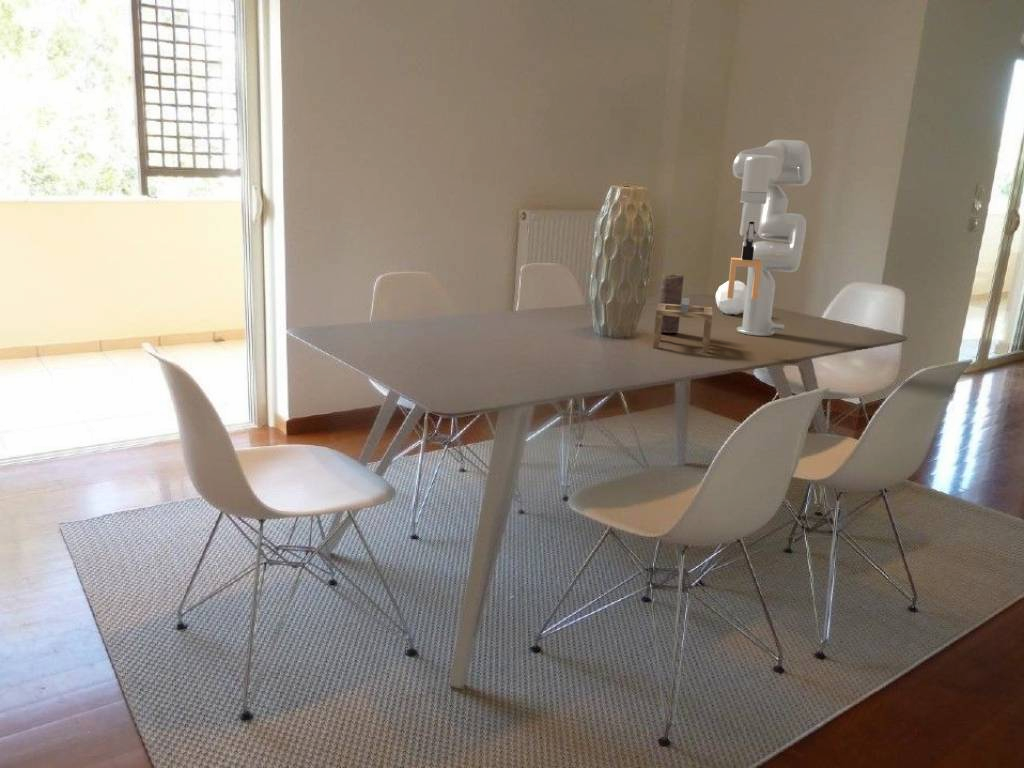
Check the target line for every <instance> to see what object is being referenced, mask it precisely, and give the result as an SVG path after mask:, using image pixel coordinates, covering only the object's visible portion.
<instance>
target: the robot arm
mask: <svg viewBox="0 0 1024 768" xmlns="http://www.w3.org/2000/svg"><path fill="white" fill-rule="evenodd" d="M732 173H733V176H734V177H735V178H736V179H739V180H742V183H741V195H740V201H739V202H740V203H742V204H743V205H742V213H741V219H740V226H739V227H740V228H739V235H740V236H741V237H743V242H745V243H744V246H743V242H742V245H741V248H742V247H743V252H742V251H741V253H740V257H741V256H742V259H743V260H753V259H759V260H762V267H761V275H760V284H759V292H758V300H752V298H751V297H752V289H753V280H754V272H755V267H747V279H746V280H747V282H746V286H747V287H746V296H745V304H744V311H743V312H742V313H743V315H742V323H741V326H738V327H736V331H737V332H738V333H741V334H744V335H748V336H755V337H756V336H757V337H767V336H768V337H769V336H773V335H774V334H775V330H778V331H785V324H781V323H775V322H773V321H772V314H773V306H774V298H775V290H776V281H775V279H774V277H773V275H772V274H771V272H772V271H775V272H783V273H785V272H786V273H793V272H796V271H798V269H799V267H800V265H801V260H802V255H803V249H804V243H805V238H806V232H807V219H806V218H805V216H804V215H802V214H800V213H792V212H790V213H789V212H787V209H788V205H789V204H788V203H789V199H788V197H787V195H786V193H785V192H784V190H783V189H782V188H781V187H780V186H782V185H783V186H798V187H802V186H803V187H804V186H806V185H807V184H808V183H809V182H810V180H811V177H812V158H811V151H810V147H809V145H808V144H807V142H806V141H803V140H798V139H797V140H793V139H790V140H789V139H773V140H770V141H769V142H768V143H766V144H765V145H764V146H760V147H755V148H749V149H744V150H741V151H740V152H739V153H738V154H736V157H735V158H734V160H733V164H732ZM756 237H759V238H761V239H764V240H767V241H763V240H762V241H761V240H760V241H756V242H755V238H756ZM768 240H769V241H768ZM775 241H777V242H775ZM778 241H779V242H778ZM746 242H747V243H746ZM785 242H786V243H785ZM787 242H788V243H787Z"/></svg>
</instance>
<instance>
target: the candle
mask: <svg viewBox="0 0 1024 768" xmlns="http://www.w3.org/2000/svg"><path fill="white" fill-rule="evenodd" d="M683 285H684V275H683V274H663V275H662V277H661V286H660V292H659V293H660V294H659V303H664V304H676V305H681V301H682V298H683V297H682V295H683V287H684V286H683ZM680 318H681V317H675V316H663V320H662V330H661V334H676V333H677V334H679V329H680V328H679V327H680V320H681V319H680Z"/></svg>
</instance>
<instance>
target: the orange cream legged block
mask: <svg viewBox="0 0 1024 768" xmlns="http://www.w3.org/2000/svg"><path fill="white" fill-rule="evenodd" d="M744 243H745V242H742V244H743V246H744ZM746 243H747V242H746ZM741 252H743V247H742V246H741ZM737 267H743V268H744V267H745V268H748V267H755V272H754V280H753V289H752V297H751V298H752V300H758V292H759V284H760V275H761V267H762V260H759V259H753V260H743V259H742V256H741V255H740V257H731V259H730V267H729V274H728V275H729V276H728V277H729V278H728V281H729V284H728V293H727V298H733V293H734V284H735V281H736V274H737Z"/></svg>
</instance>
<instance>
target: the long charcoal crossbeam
mask: <svg viewBox="0 0 1024 768" xmlns="http://www.w3.org/2000/svg"><path fill="white" fill-rule="evenodd" d="M690 300H691V299H690V297H682V298H681V311H680V312H685V313H688V311H689V306H690Z"/></svg>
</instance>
